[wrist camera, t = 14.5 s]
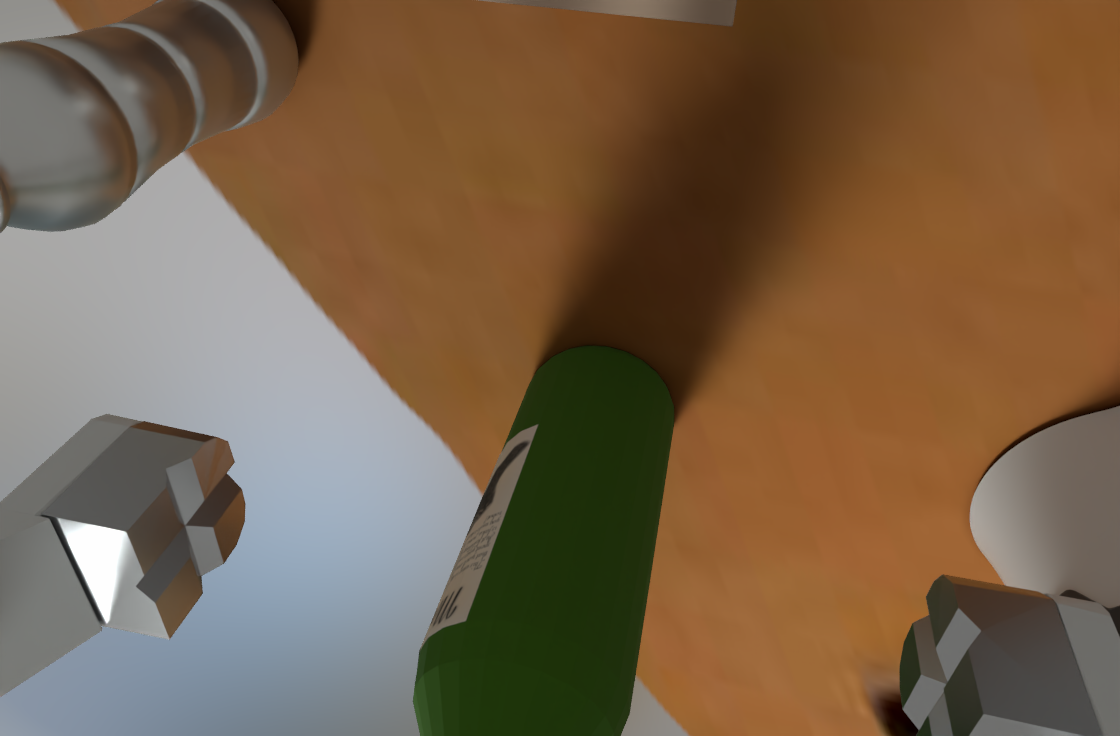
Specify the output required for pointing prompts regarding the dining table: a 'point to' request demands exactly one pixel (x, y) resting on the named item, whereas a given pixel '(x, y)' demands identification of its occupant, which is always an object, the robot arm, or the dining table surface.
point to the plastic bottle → (131, 102)
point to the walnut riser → (648, 8)
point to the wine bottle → (555, 560)
